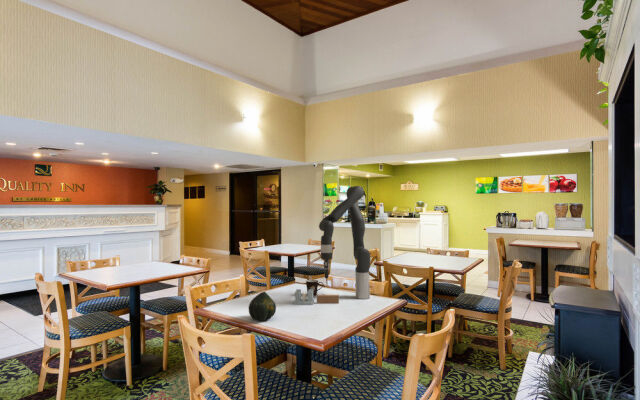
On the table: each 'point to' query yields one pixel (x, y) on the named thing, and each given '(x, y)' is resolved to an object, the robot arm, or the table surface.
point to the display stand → (303, 300)
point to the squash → (262, 307)
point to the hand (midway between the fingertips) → (326, 276)
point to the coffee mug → (312, 286)
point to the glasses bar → (327, 299)
